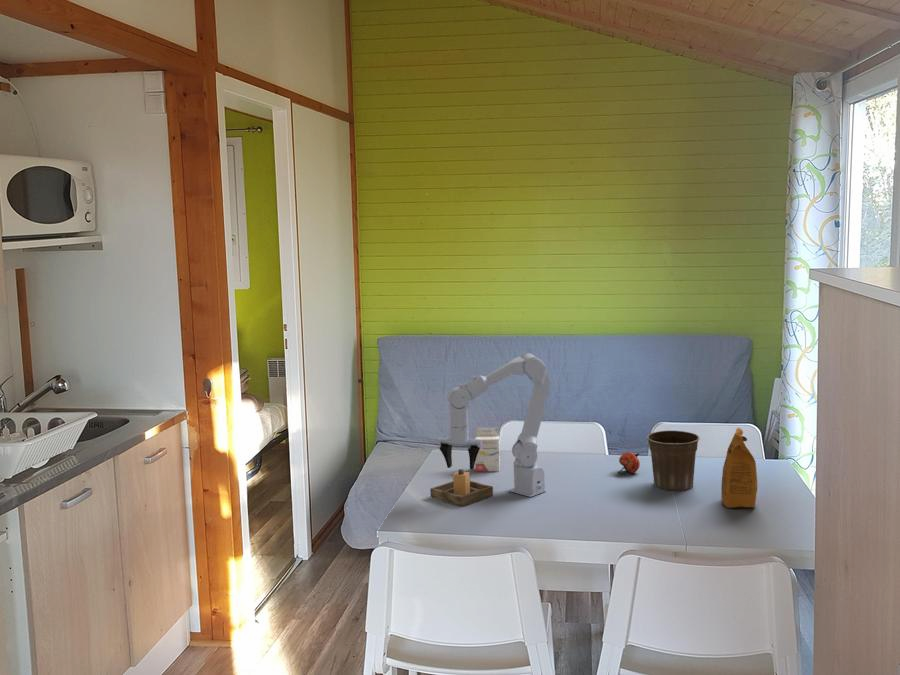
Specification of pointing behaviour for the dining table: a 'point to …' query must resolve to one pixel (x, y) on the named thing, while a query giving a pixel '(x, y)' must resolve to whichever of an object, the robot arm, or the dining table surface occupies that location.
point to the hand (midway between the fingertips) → (460, 467)
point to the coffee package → (739, 474)
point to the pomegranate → (629, 462)
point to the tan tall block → (461, 482)
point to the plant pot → (673, 459)
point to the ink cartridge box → (488, 450)
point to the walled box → (476, 494)
